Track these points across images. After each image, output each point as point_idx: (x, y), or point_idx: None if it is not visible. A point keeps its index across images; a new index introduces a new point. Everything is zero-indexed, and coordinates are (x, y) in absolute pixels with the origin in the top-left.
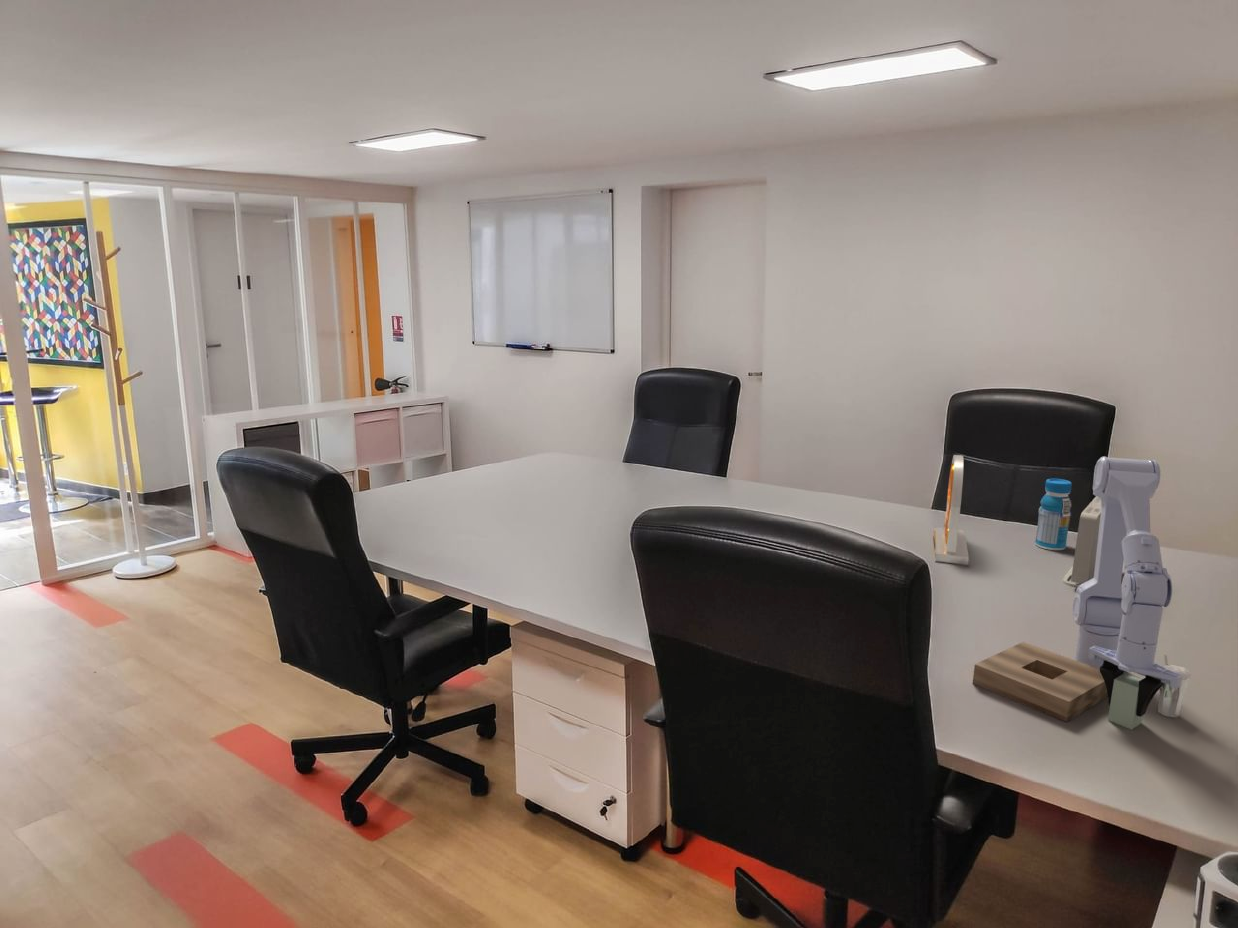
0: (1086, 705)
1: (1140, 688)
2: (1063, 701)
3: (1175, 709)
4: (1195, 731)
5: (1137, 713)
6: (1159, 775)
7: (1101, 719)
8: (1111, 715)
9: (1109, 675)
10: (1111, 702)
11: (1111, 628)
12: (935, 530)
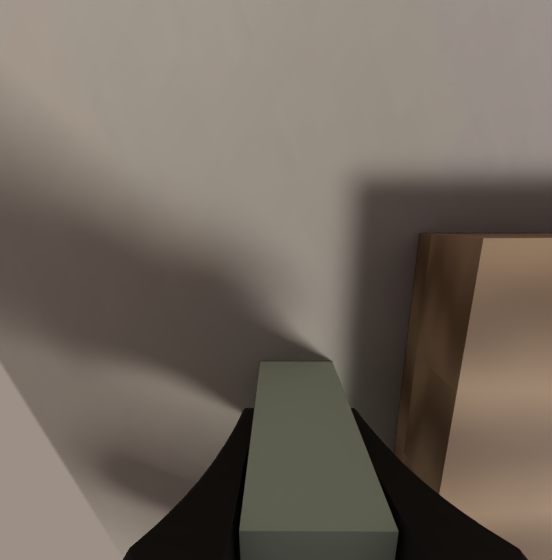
0: (412, 377)
1: (221, 527)
2: (500, 237)
3: None
4: (155, 485)
5: (252, 412)
6: (62, 134)
7: (346, 349)
8: (327, 372)
9: (441, 542)
10: (345, 405)
11: None
12: None
